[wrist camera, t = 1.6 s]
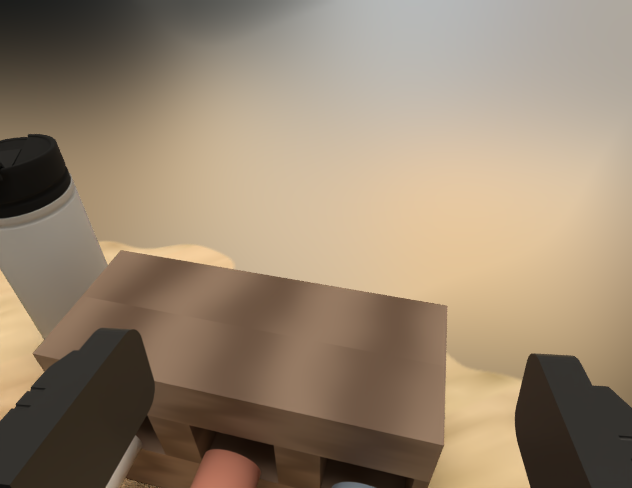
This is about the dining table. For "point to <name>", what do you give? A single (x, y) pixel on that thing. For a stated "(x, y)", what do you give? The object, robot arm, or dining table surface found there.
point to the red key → (226, 471)
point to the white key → (125, 464)
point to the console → (272, 373)
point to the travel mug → (44, 231)
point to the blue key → (351, 485)
